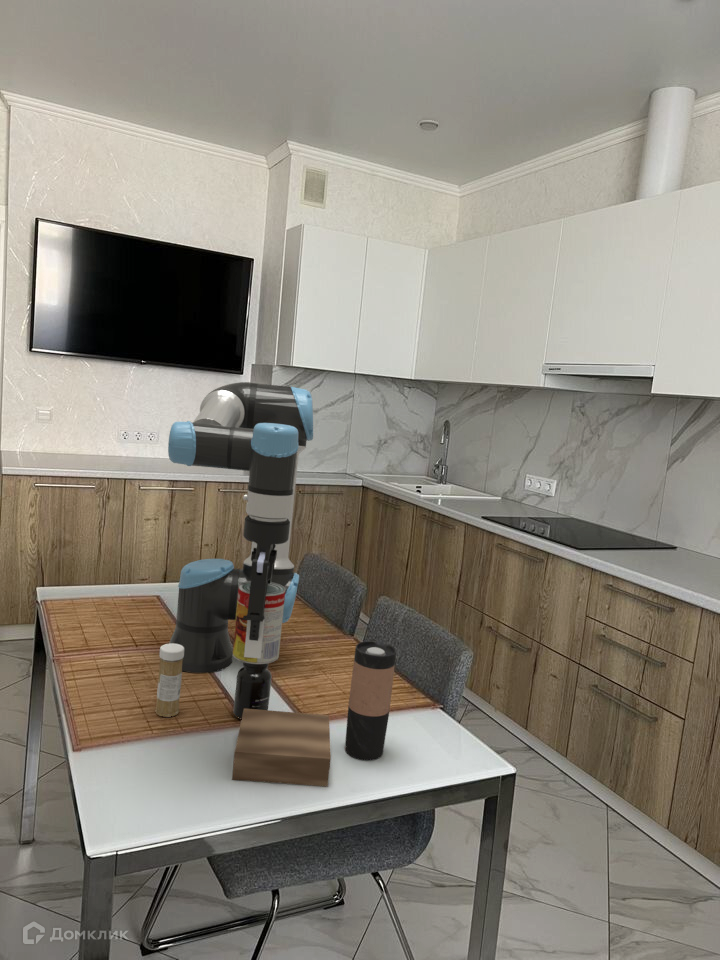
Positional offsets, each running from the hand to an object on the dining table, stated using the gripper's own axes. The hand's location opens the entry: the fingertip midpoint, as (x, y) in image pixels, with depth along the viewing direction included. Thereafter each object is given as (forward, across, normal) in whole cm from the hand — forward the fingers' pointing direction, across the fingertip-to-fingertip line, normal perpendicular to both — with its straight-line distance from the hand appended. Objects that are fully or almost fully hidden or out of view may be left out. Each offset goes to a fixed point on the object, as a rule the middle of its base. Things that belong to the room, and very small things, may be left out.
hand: (255, 647), depth 127 cm
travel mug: (+21, -8, +21) cm, 31 cm away
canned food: (+2, 0, 0) cm, 2 cm away
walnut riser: (+21, -2, +6) cm, 22 cm away
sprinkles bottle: (+21, -16, -17) cm, 32 cm away
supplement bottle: (+21, -18, -1) cm, 28 cm away
